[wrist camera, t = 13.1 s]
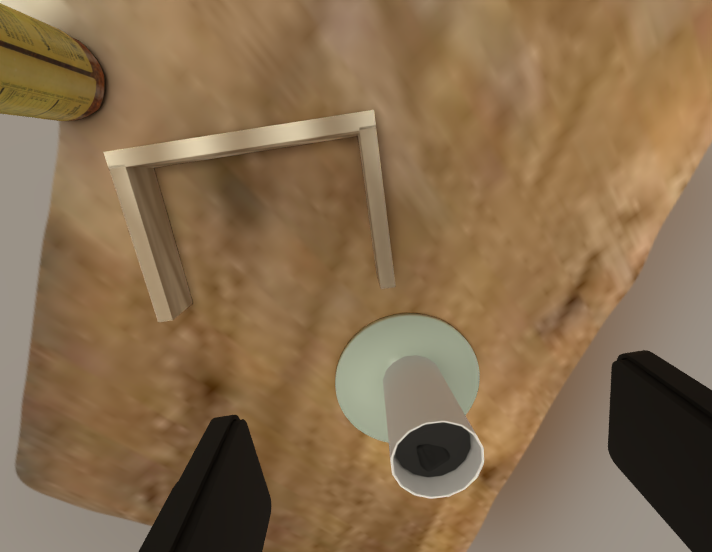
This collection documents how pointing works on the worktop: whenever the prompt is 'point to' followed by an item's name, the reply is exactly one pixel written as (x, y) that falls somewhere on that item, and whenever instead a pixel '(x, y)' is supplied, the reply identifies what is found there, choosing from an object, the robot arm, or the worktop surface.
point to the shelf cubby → (138, 163)
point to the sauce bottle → (45, 71)
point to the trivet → (390, 343)
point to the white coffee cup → (428, 431)
